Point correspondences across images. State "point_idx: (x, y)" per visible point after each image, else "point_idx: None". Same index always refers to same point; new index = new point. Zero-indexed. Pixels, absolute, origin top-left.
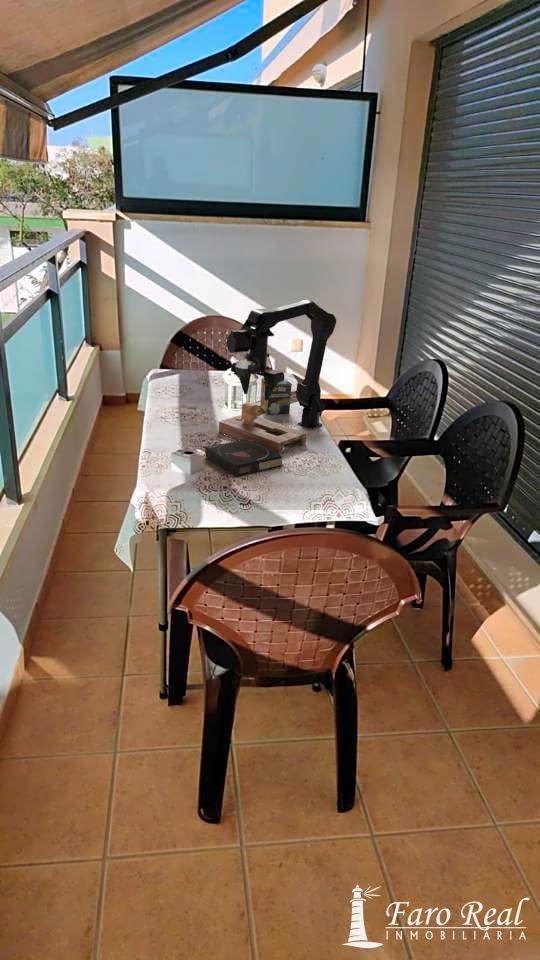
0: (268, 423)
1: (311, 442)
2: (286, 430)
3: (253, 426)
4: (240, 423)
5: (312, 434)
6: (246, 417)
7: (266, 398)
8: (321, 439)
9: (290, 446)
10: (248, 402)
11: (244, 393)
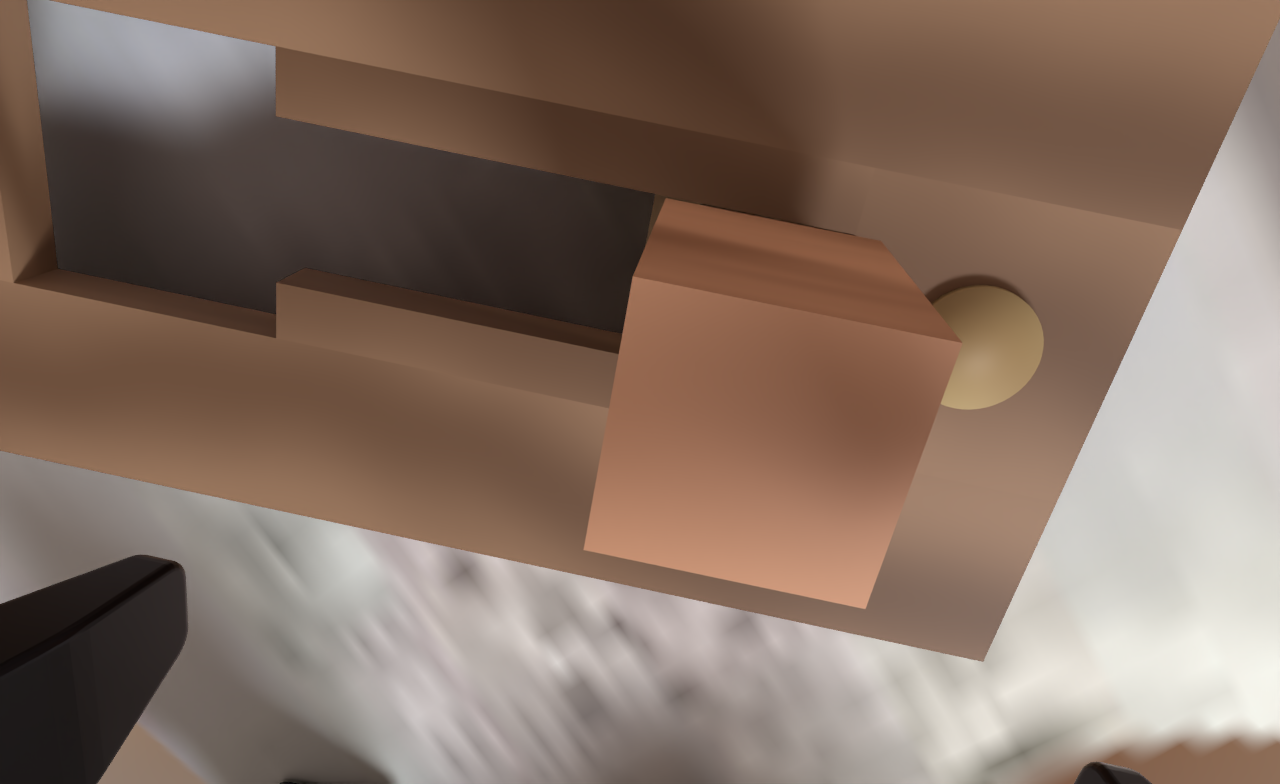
0: (477, 454)
1: (22, 460)
2: (94, 343)
3: (573, 169)
4: (850, 157)
5: (183, 665)
6: (752, 227)
7: (47, 590)
8: (28, 593)
9: (65, 188)
10: (868, 563)
11: (1125, 773)
